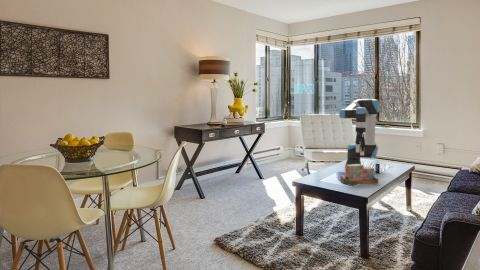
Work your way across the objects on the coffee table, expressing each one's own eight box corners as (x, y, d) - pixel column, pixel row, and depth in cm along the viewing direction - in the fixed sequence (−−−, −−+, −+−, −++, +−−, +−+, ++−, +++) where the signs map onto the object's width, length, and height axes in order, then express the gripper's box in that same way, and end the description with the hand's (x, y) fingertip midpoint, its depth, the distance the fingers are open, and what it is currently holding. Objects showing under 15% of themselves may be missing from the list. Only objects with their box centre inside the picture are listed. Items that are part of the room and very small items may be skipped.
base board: (340, 179, 278) (340, 174, 278) (373, 179, 276) (373, 175, 275) (343, 183, 266) (344, 178, 266) (378, 183, 264) (378, 178, 263)
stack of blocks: (369, 178, 276) (370, 163, 274) (374, 180, 270) (374, 164, 268) (345, 179, 273) (345, 164, 271) (348, 181, 266) (349, 165, 265)
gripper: (351, 125, 279) (351, 151, 281) (359, 128, 254) (359, 156, 256) (361, 125, 278) (360, 151, 280) (370, 128, 253) (369, 156, 256)
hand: (359, 153), depth 268 cm, fingers open, 13 cm apart
